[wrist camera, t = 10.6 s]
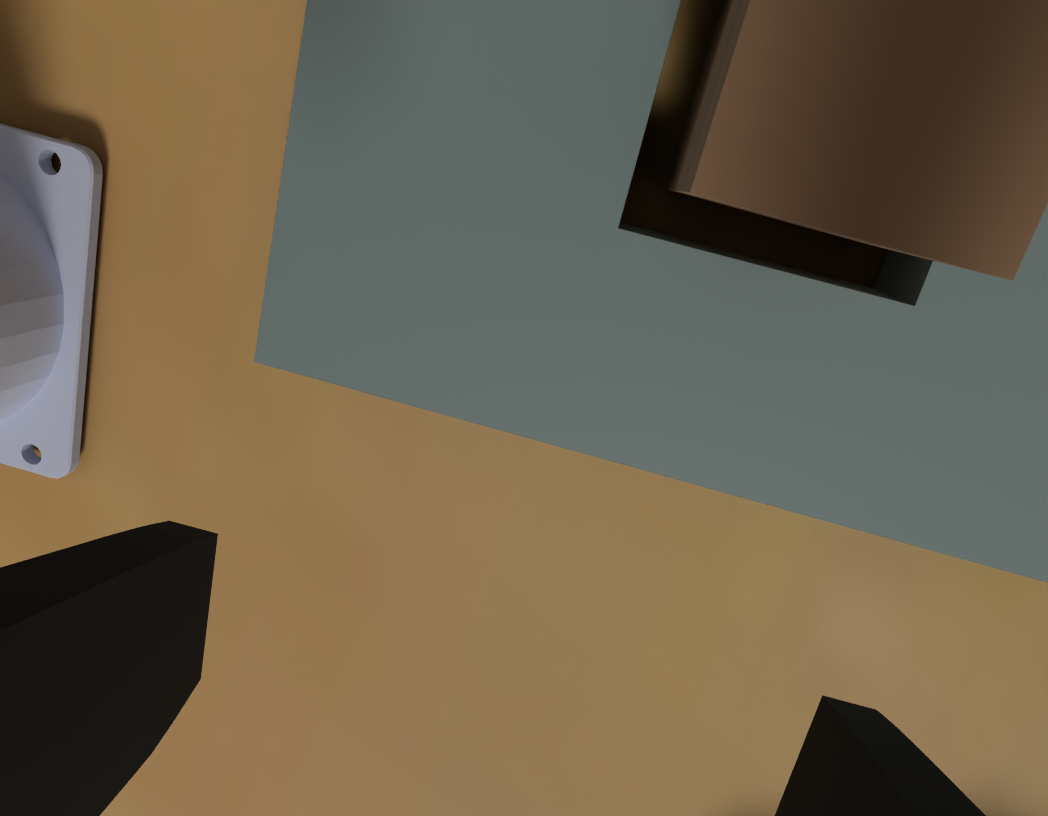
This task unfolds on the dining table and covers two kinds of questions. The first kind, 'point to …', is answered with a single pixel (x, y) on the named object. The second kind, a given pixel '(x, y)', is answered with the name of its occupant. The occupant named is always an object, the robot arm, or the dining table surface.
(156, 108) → the dining table surface
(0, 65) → the dining table surface
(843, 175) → the walnut peg
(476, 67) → the socket plate
